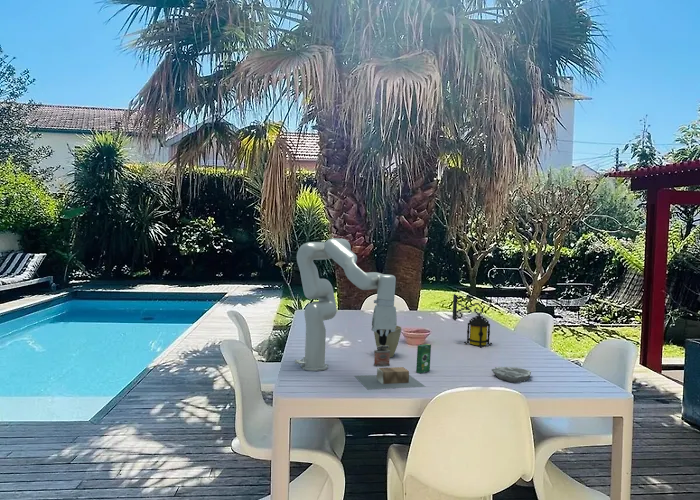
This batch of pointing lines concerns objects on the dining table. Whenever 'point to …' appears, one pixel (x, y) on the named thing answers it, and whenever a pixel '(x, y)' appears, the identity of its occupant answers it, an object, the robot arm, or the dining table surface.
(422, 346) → the coffee box
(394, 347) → the plant pot
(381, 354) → the lighter
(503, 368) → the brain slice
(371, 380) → the slate mat
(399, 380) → the tan rectangular block
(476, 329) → the wall lantern
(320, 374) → the dining table surface
